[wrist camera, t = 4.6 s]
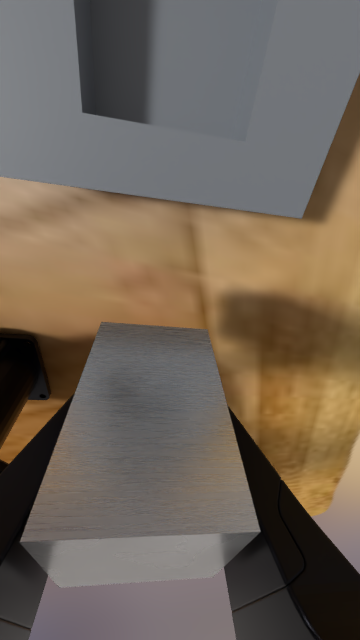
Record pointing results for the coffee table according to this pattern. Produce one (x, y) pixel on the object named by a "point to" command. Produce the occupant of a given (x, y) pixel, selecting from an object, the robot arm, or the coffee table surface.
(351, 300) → the coffee table surface
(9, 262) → the coffee table surface
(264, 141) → the pallet
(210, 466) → the billet
